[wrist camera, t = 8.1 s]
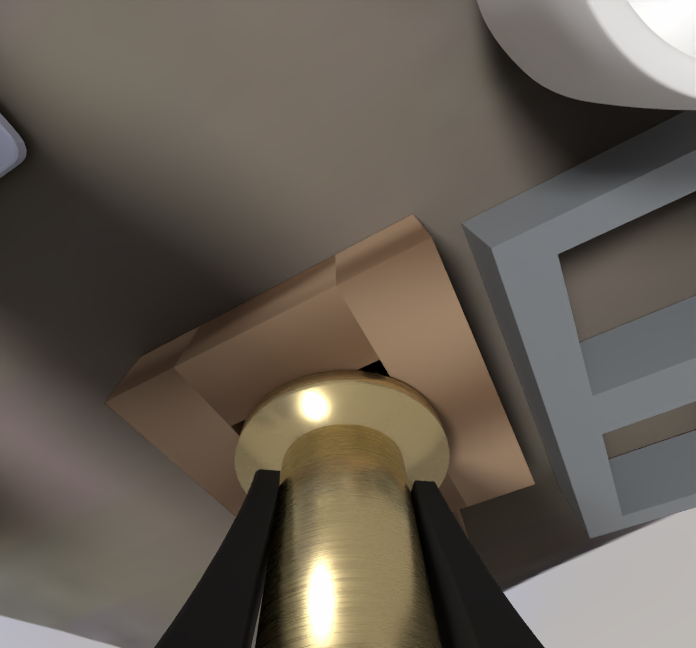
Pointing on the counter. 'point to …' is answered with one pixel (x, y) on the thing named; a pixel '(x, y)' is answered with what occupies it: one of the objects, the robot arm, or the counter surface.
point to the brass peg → (345, 510)
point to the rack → (604, 349)
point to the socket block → (330, 366)
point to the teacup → (603, 48)
